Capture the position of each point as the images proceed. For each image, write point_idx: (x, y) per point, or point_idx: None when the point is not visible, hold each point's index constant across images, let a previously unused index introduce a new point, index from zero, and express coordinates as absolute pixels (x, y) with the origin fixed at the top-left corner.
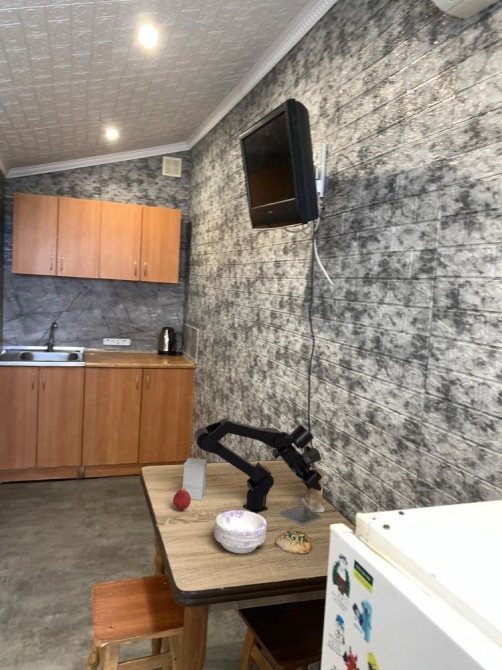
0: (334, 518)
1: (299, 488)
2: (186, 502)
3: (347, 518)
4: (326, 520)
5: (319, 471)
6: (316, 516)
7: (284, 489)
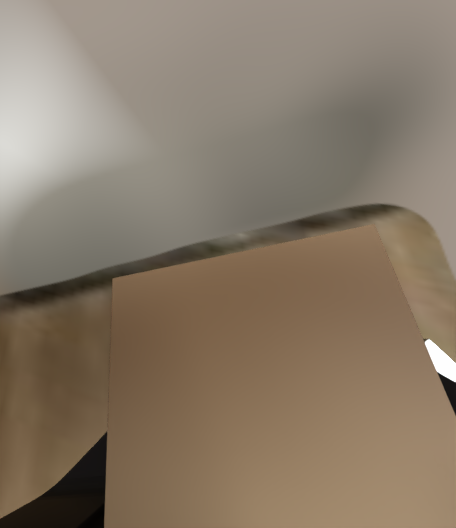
0: (396, 267)
1: (64, 365)
2: None
3: (376, 208)
4: (438, 314)
5: (294, 322)
6: (447, 374)
7: (63, 463)
